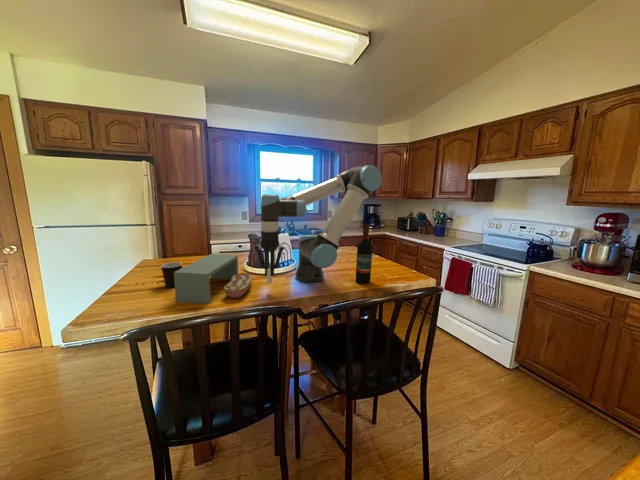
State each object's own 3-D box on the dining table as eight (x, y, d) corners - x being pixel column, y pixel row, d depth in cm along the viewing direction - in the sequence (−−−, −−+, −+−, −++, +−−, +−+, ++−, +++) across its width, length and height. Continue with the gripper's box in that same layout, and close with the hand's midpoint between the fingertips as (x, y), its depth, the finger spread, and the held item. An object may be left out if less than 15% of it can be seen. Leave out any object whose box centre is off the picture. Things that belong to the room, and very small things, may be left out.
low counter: (238, 278, 139) (237, 255, 137) (209, 303, 109) (207, 274, 107) (212, 277, 140) (211, 253, 138) (175, 301, 110) (173, 272, 108)
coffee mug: (174, 289, 123) (173, 268, 121) (158, 287, 124) (156, 266, 123) (191, 281, 134) (190, 261, 132) (176, 279, 136) (174, 260, 134)
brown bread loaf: (235, 282, 134) (234, 273, 133) (255, 282, 135) (255, 273, 134) (221, 301, 112) (221, 290, 111) (245, 301, 113) (245, 290, 112)
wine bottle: (371, 281, 141) (375, 224, 136) (368, 285, 135) (371, 226, 129) (357, 279, 144) (361, 223, 139) (353, 283, 138) (356, 224, 132)
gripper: (286, 230, 120) (285, 280, 125) (257, 228, 121) (257, 278, 126) (282, 232, 113) (281, 286, 117) (252, 231, 114) (252, 284, 118)
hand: (269, 282), depth 121 cm, fingers closed
